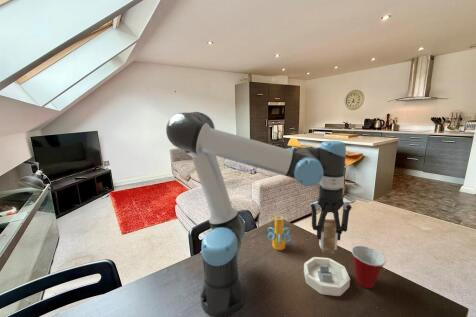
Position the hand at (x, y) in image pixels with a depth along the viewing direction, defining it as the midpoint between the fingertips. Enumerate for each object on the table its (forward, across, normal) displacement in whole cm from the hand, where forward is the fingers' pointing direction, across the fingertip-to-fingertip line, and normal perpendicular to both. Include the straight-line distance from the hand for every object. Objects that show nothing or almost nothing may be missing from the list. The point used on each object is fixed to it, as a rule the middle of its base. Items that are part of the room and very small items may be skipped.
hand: (327, 246), depth 78 cm
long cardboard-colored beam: (+2, 0, 0) cm, 2 cm away
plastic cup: (+14, +14, 0) cm, 20 cm away
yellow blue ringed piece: (+14, -17, +18) cm, 28 cm away
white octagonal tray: (+14, 0, 0) cm, 14 cm away
